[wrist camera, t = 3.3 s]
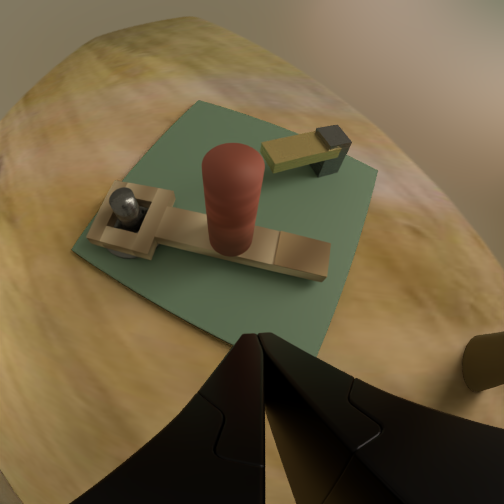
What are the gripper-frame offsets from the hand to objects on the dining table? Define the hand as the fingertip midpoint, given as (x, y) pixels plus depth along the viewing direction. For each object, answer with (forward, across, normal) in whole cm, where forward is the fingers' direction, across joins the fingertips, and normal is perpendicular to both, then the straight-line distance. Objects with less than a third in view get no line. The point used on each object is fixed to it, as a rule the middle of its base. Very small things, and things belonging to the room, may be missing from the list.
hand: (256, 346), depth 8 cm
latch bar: (+15, -2, -2) cm, 16 cm away
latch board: (+19, 0, 0) cm, 19 cm away
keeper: (+21, +7, +3) cm, 22 cm away
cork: (+7, +24, -13) cm, 28 cm away
